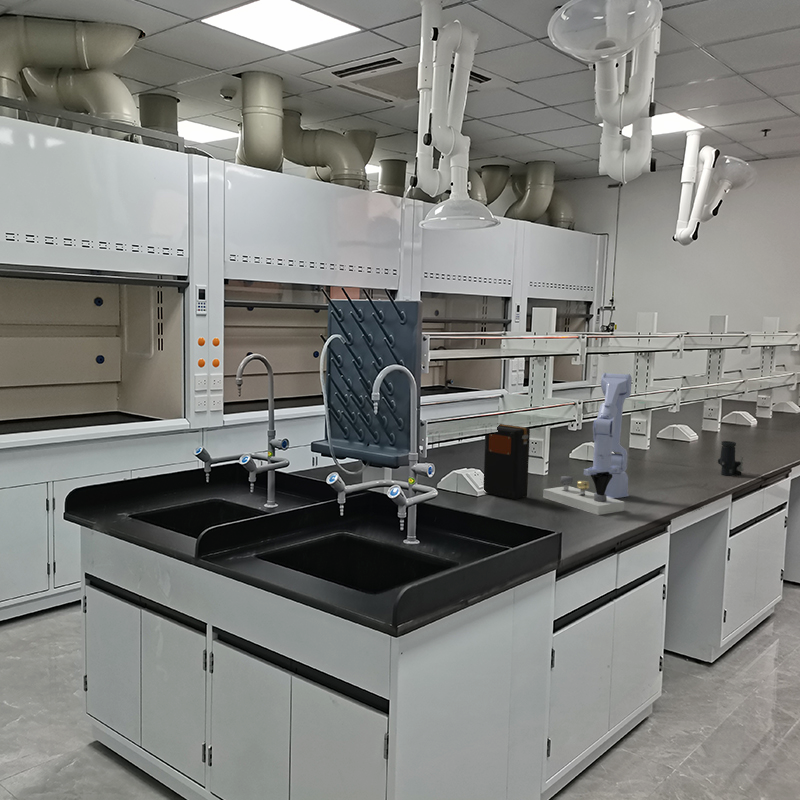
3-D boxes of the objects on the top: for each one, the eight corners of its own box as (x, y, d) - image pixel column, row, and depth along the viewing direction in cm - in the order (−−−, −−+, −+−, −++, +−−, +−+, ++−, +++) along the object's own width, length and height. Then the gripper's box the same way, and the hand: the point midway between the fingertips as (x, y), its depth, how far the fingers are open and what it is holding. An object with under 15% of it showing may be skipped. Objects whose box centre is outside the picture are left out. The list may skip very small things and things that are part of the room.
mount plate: (568, 494, 266) (568, 485, 265) (623, 510, 244) (624, 501, 243) (543, 497, 260) (543, 489, 259) (598, 515, 237) (598, 505, 237)
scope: (746, 442, 305) (733, 444, 299) (743, 475, 306) (731, 477, 300) (727, 439, 311) (714, 441, 305) (724, 471, 313) (712, 474, 306)
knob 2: (599, 507, 248) (600, 492, 247) (608, 509, 244) (609, 495, 244) (590, 508, 245) (591, 493, 245) (599, 511, 242) (600, 496, 242)
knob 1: (566, 489, 261) (566, 475, 260) (574, 491, 257) (574, 477, 257) (557, 490, 259) (558, 476, 258) (565, 492, 255) (566, 479, 255)
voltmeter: (529, 497, 260) (532, 427, 257) (515, 501, 253) (518, 429, 251) (494, 489, 270) (496, 422, 268) (479, 493, 264) (482, 424, 262)
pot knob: (582, 494, 254) (583, 480, 253) (591, 496, 251) (591, 482, 250) (574, 495, 252) (574, 481, 251) (582, 497, 249) (583, 483, 248)
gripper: (595, 458, 236) (593, 499, 237) (627, 455, 243) (624, 495, 245) (579, 454, 242) (577, 495, 243) (611, 451, 249) (608, 490, 251)
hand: (600, 495), depth 244 cm, fingers closed, pressing on knob 2
